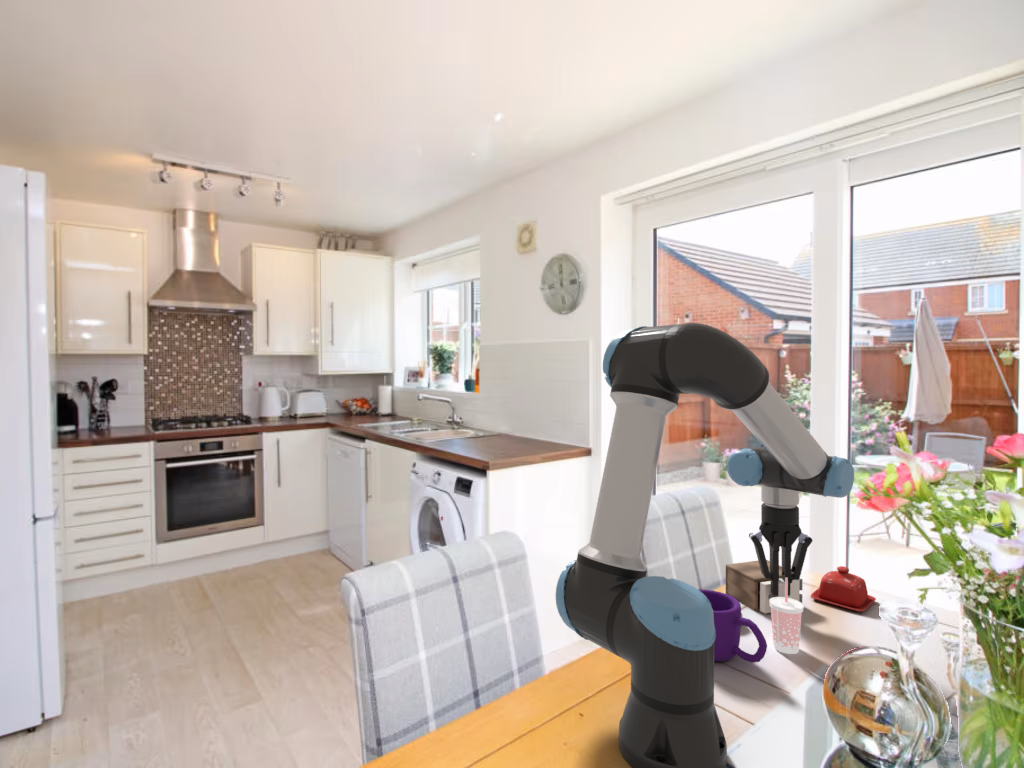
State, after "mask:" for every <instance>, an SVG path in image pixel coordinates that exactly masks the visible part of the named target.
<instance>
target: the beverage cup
mask: <svg viewBox="0 0 1024 768" xmlns="http://www.w3.org/2000/svg"><path fill="white" fill-rule="evenodd" d="M769 603H770V606H771V613H770V615H771V633H772V646H773V648H774V650H776V651H778V652H780V653H784V654H788V655H795V654H798V653H799V652H800V643H801V642H800V641H801V640H800V639H801V627H802V626H801V625H802V615H803V613H804V604H803V602H802V603H801V602H799V601H797V600H794V599H791V598H788V578H787V577H785V597H773V598H771V599H770V601H769Z"/></svg>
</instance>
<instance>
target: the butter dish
mask: <svg viewBox="0 0 1024 768" xmlns="http://www.w3.org/2000/svg"><path fill="white" fill-rule="evenodd" d="M849 569H850V568H848V567H847V566H841V565H840V566H837V567H836V570H831V571H829V572H827V573H825V574H824V575H823V576H822V578H821V580H820V583H819V587H818V588H817V589H816V590H814V591H813V592H812V593H811V595H810V598H811V599H814V600H816V601H820V602H823V603H827V604H829V605H832V606H836V607H841V608H844V609H847V610H852V611H855V612H864V611H865V612H866V610H867V609H868V608H869V607H870V606H872V604H873V603H874V602H875V601H876V597H874V596H872V595H870V594H868V588H867V584H866V580H865V579H864V578H862V577H861V576H859V575H855V574H853V573H850V570H849Z"/></svg>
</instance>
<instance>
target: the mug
mask: <svg viewBox="0 0 1024 768" xmlns="http://www.w3.org/2000/svg"><path fill="white" fill-rule="evenodd" d="M698 590H699V591H701V592H702V593H703V594H704V595H705V596H706V597H707V599H708V600H709V601H710V603H711V606H712V609H713V614H714V626H715V630H716V638H715V645H714V662H725V661H729V660H731V659H733V658H734V657H736V656H737V657H738V658H740V659H742V660H744V661H746V662H749V663H760V662H761V660H762V659H764V657H765V655H766V653H767V649H768V643H767V641H766V638H765V635H764V634H763V632H762V631H761V629H760V628H759V626H758V625H757V624H756V622H754V621H752V620H751V619H750V618H747V617H742V618H741V613H742V606H741V605H742V604H741V603H740V602H739V601H738V600H737V599H735V598H734V597H732V596H730V595H727V594H726V593H725V592H722V591H721V592H720V591H716V590H711V589H710V590H709V589H698ZM741 626H744V627H747V628H749V630H751V632H752V634H754V637H755V638H756V641H757V642H758V648H757V650H756V652H755V653H754V654H752V653H749V652H746V651H744V650H742V649H741V648H740V641H741V632H742V631H741V630H742V629H741V628H742V627H741Z"/></svg>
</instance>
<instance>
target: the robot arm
mask: <svg viewBox="0 0 1024 768" xmlns="http://www.w3.org/2000/svg"><path fill="white" fill-rule="evenodd" d="M602 373H603V374H605V376H604V379H605V381H606V383H607V385H608V386H609V387H610V388H611V389H610V393H609V396H610V398H611V400H612V401H613V402H614V404H615V406H616V408H615V411H614V412H615V413H614V418H613V422H612V429H611V432H610V438H609V442H608V443H609V444H608V449H607V452H606V453H607V454H606V457H605V463H604V468H603V473H602V477H601V483H600V488H599V493H598V498H597V502H596V508H595V512H594V517H593V522H592V526H591V527H592V528H591V534H590V538H589V542H588V543H587V544H586V545H584V546H583V547H581V548H580V549H578V552H577V557H576V559H574V560H572V561H570V562H569V563H568V564H567V565H566V566H565V568H566V569H564V570H562V571H561V573H560V575H559V576H558V578H557V583H556V588H555V603H556V609H557V612H558V614H559V616H560V618H561V620H562V622H563V623H564V624H565V625H566V626H567V627H568V628H569V629H570V630H572V631H574V632H575V633H576V634H577V635H578V636H579V637H580V638H583V639H585V640H588V641H590V642H592V643H594V644H595V645H597V646H599V647H600V648H602V649H605V650H606V651H608V652H610V653H612V654H613V655H614V656H617V657H620V658H621V659H623V660H625V661H626V662H628V663H629V664H630V692H629V694H628V697H627V700H626V703H625V706H624V709H623V712H622V713H623V714H622V716H621V718H620V720H619V726H618V747H619V750H620V753H621V755H622V756H623V758H624V760H626V762H627V763H628V764H629V765H630V766H631V767H632V768H727V763H728V744H727V740H726V737H725V734H724V731H723V727H722V725H721V721H720V719H719V714H718V712H717V709H716V705H715V661H714V645H715V638H716V630H715V626H714V614H713V609H712V606H711V603H710V601H709V600H708V599H707V597H706V596H705V595H704V594H703V593H702V592H701V591H699V590H700V589H698V588H696V587H695V586H693V585H691V584H689V583H687V582H685V581H682V580H679V579H676V578H673V577H672V578H666V577H665V576H658V575H657V576H656V575H654V576H653V575H652V576H651V575H650V576H647V574H648V566H647V565H646V563H645V562H644V560H643V559H642V555H641V552H642V547H643V543H644V536H645V531H646V526H647V521H648V516H649V510H650V506H651V505H650V504H651V499H652V495H653V489H654V483H655V478H656V474H657V467H658V461H659V456H660V451H661V445H662V439H663V436H664V435H663V434H664V429H665V425H666V420H667V419H666V418H667V416H668V415H669V414H671V413H673V412H674V411H676V409H678V405H679V399H680V395H683V394H685V395H687V394H690V395H691V394H692V395H693V394H694V395H698V396H699V395H700V396H703V397H707V398H709V399H711V400H712V401H714V402H715V403H716V405H717V406H718V407H720V408H722V409H724V410H728V411H731V412H732V413H733V414H734V415H735V416H736V417H737V418H738V419H739V421H740V422H741V423H742V424H743V425H744V426H745V427H746V428H747V429H748V430H749V432H751V434H752V435H753V436H754V437H755V438H756V439H757V440H758V442H760V444H759V446H755V447H748V448H747V447H744V448H742V449H739V450H736V451H734V452H733V453H731V454H730V455H729V456H728V458H727V462H726V472H727V475H728V477H729V478H730V479H731V480H732V481H733V482H734V483H735V484H736V485H739V486H742V487H755V486H756V485H758V486H759V485H760V486H761V491H760V492H761V498H760V499H761V502H763V503H762V504H761V505H760V506H761V507H760V508H761V523H760V525H759V529H758V530H757V531H756V532H754V533H753V532H749V534H748V538H749V539H750V540H751V542H752V543H753V545H754V549H755V553H756V558H757V561H759V565H760V569H761V572H762V574H763V575H764V577H765V578H766V579H770V580H771V592H772V594H773V595H774V596H776V597H785V577H787V578H788V596H790V584H791V583H792V580H799V578H800V577H801V575H802V570H803V567H804V563H805V559H806V556H807V551H808V548H809V547H810V545H811V544H812V543H813V538H812V537H810V536H809V535H808V534H806V533H803V532H802V529H801V527H800V507H798V505H799V504H800V495H799V494H800V493H804V494H805V493H806V494H811V495H812V494H813V495H818V496H822V497H824V498H826V497H831V498H840V499H841V498H845V497H847V496H849V494H850V493H851V492H852V489H853V486H854V482H855V471H854V470H855V469H854V467H853V464H852V462H851V461H850V460H849V459H847V458H844V457H838V456H837V455H833V456H830V455H829V454H827V452H826V451H825V450H824V449H823V447H822V446H821V445H820V443H818V441H817V440H816V438H814V436H813V435H812V434H811V432H810V431H809V430H808V429H807V428H806V426H805V425H804V424H803V422H801V420H800V418H798V416H797V414H795V413H794V411H793V410H792V409H791V408H790V406H789V405H788V404H787V402H786V401H785V400H784V399H783V398H782V396H781V395H780V394H779V392H778V391H777V390H776V389H775V388H774V386H773V385H772V384H771V383H770V381H771V375H770V372H769V370H768V368H767V367H766V366H765V364H764V363H763V362H762V360H761V359H760V358H759V357H758V356H757V355H756V354H755V353H754V352H753V351H752V350H751V349H750V348H748V346H746V345H745V344H744V343H742V342H741V341H739V340H738V339H737V338H735V337H733V336H732V335H730V334H729V333H727V332H725V331H723V330H721V329H719V328H717V327H715V326H711V325H708V324H706V323H699V322H685V323H681V324H667V325H656V326H645V325H644V326H638V327H634V328H630V329H626V330H623V331H621V332H619V334H617V335H615V336H614V337H613V338H612V340H610V342H609V343H608V345H607V347H606V349H605V352H604V355H603V360H602ZM763 537H764V540H766V542H767V543H768V547H769V561H770V572H769V569H768V565H767V561H766V560H767V558H766V557H767V556H766V554H765V550H764V547H763V544H762V542H763ZM796 541H798V542H797V545H796V550H795V553H794V556H793V560H792V552H793V551H792V550H793V549H792V548H793V547H792V546H793V544H794V543H795V542H796ZM780 548H781V549H780ZM780 550H781V566H782V579H781V578H779V566H780ZM792 561H793V562H792ZM800 579H801V578H800Z"/></svg>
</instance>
